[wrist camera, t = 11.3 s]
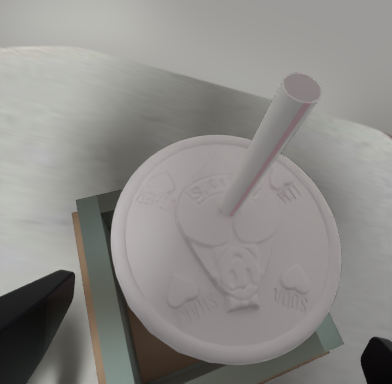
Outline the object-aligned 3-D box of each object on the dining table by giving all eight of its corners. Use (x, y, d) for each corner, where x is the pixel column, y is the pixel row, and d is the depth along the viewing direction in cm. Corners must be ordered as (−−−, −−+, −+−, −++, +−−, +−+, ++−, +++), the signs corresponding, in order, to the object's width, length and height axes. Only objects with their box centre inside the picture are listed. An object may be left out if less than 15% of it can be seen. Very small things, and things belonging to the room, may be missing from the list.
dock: (318, 351, 16) (374, 360, 12) (113, 442, 13) (92, 497, 9) (242, 178, 21) (263, 142, 17) (77, 219, 18) (52, 187, 14)
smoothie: (235, 224, 18) (418, -11, 5) (254, 334, 15) (720, 386, 3) (134, 230, 17) (67, -42, 4) (136, 350, 14) (-33, 558, 2)
